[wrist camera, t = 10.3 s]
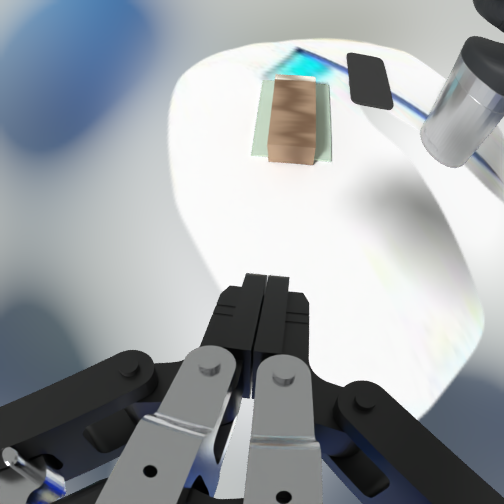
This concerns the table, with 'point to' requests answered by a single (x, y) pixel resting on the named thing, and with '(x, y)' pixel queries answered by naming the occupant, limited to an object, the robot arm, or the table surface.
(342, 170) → the table surface
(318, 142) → the green mat
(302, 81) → the walnut block
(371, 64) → the phone
